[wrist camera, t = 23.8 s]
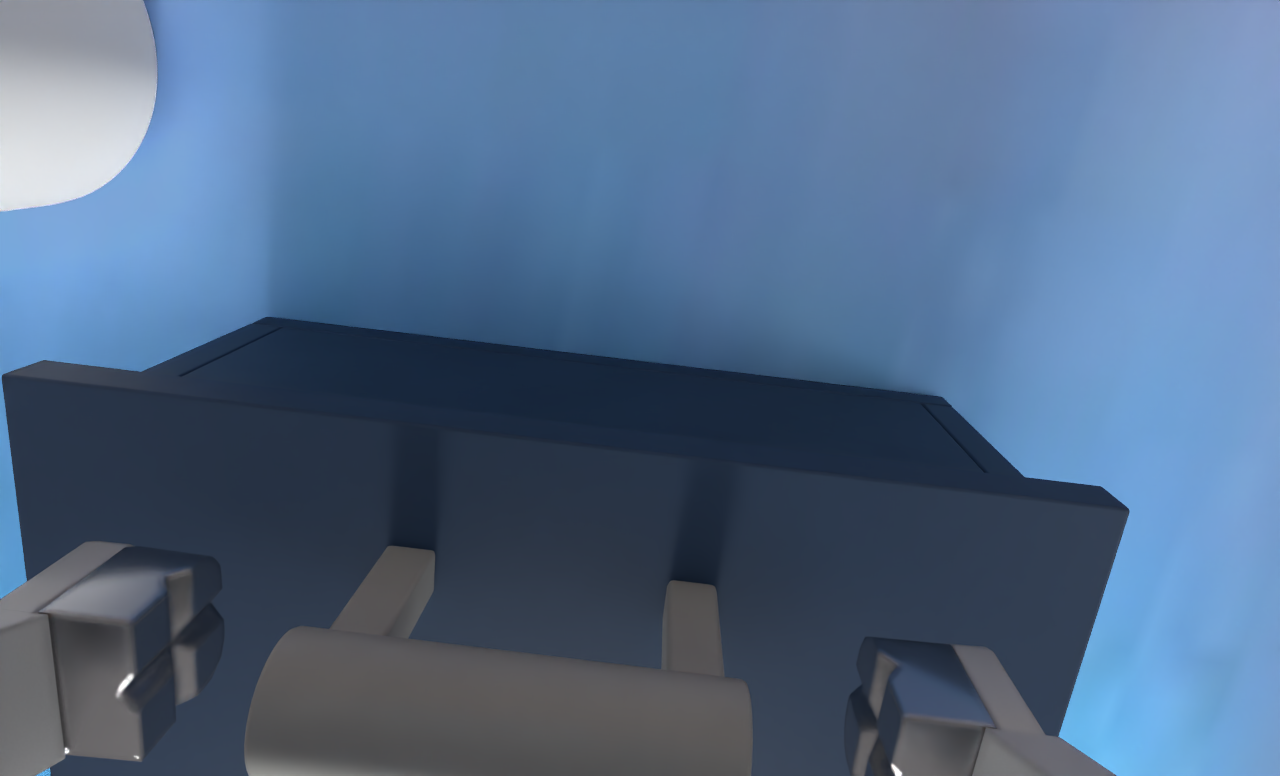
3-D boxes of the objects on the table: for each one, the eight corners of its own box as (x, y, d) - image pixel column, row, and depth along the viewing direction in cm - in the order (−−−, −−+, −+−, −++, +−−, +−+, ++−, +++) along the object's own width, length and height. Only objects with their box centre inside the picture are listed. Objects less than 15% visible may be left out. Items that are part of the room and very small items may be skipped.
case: (266, 316, 18) (48, 411, 12) (943, 396, 18) (1086, 535, 12) (278, 791, 22) (119, 1051, 16) (834, 858, 22) (899, 1149, 16)
